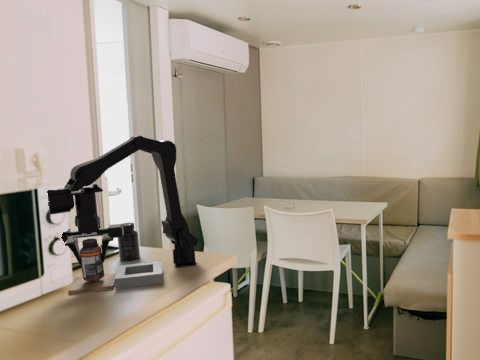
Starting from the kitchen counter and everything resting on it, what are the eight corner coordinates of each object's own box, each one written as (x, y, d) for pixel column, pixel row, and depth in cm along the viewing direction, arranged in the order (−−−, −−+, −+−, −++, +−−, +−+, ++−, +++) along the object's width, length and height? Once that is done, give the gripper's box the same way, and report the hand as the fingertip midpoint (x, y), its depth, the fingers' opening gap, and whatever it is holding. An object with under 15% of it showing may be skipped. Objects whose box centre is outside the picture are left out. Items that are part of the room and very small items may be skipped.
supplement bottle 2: (143, 255, 164) (140, 221, 163) (133, 261, 158) (130, 226, 157) (126, 255, 167) (123, 221, 165) (115, 260, 160) (112, 226, 159)
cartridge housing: (162, 270, 146) (161, 261, 146) (163, 283, 133) (162, 273, 133) (118, 275, 144) (117, 265, 143) (115, 289, 131) (114, 278, 131)
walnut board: (116, 276, 143) (116, 272, 143) (113, 289, 132) (113, 285, 131) (75, 280, 141) (75, 277, 141) (68, 294, 129) (68, 290, 129)
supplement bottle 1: (88, 275, 139) (84, 237, 138) (107, 274, 139) (104, 237, 137) (79, 282, 134) (74, 242, 132) (99, 281, 133) (95, 242, 131)
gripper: (122, 201, 143) (127, 252, 145) (57, 207, 140) (63, 259, 142) (119, 208, 132) (125, 262, 134) (49, 214, 129) (55, 270, 131)
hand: (92, 263), depth 136 cm, fingers closed on supplement bottle 1, 6 cm apart
